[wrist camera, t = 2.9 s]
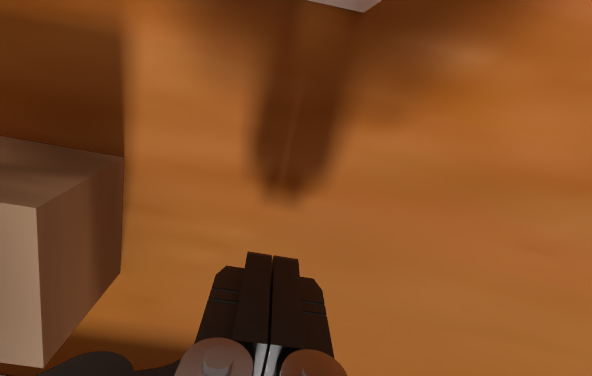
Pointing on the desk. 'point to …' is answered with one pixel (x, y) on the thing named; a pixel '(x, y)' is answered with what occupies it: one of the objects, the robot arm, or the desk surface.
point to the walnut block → (54, 243)
